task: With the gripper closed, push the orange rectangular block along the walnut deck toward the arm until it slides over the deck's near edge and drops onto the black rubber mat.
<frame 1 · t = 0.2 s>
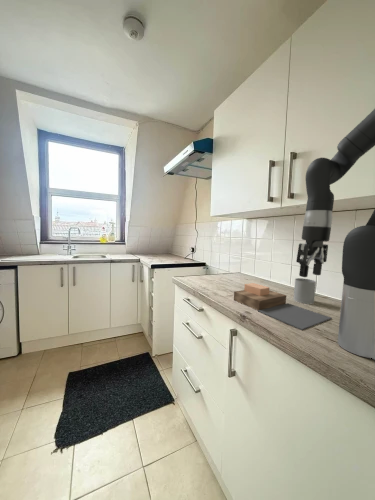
hand: (310, 275, 65), 17 cm above the counter, tool pointing down, fingers open, 8 cm apart
deck: (259, 302, 90), on the counter
orange rectangular block: (256, 292, 91), point 4 cm above the counter, touching deck
cup: (303, 301, 94), on the counter
mat: (293, 315, 76), on the counter
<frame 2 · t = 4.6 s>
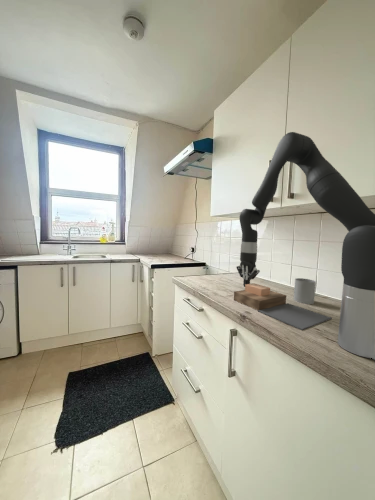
hand: (246, 287, 96), 5 cm above the counter, tool pointing down, fingers closed
orange rectangular block: (257, 292, 91), point 4 cm above the counter, touching gripper
everything else where it was.
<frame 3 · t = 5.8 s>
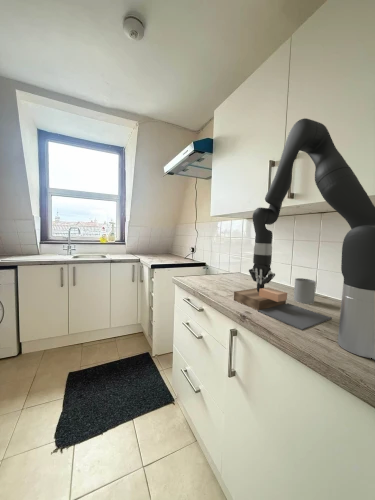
hand: (260, 291, 89), 5 cm above the counter, tool pointing down, fingers closed
orange rectangular block: (272, 297, 84), point 4 cm above the counter, touching gripper
everything else where it was.
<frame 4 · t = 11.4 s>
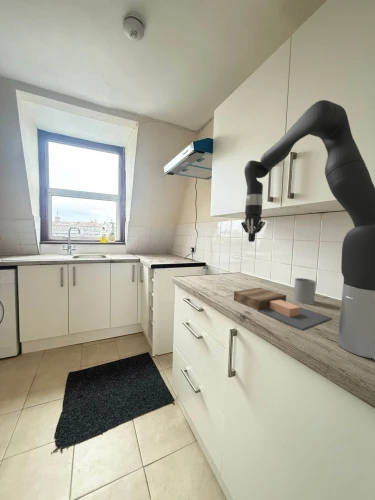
hand: (251, 241, 95), 27 cm above the counter, tool pointing down, fingers closed
orange rectangular block: (284, 311, 78), resting on mat
everything else where it was.
at the end: orange rectangular block inside the target area (3.0 cm from its centre), resting on mat; orange rectangular block resting on mat; orange rectangular block tilted 0° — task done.
